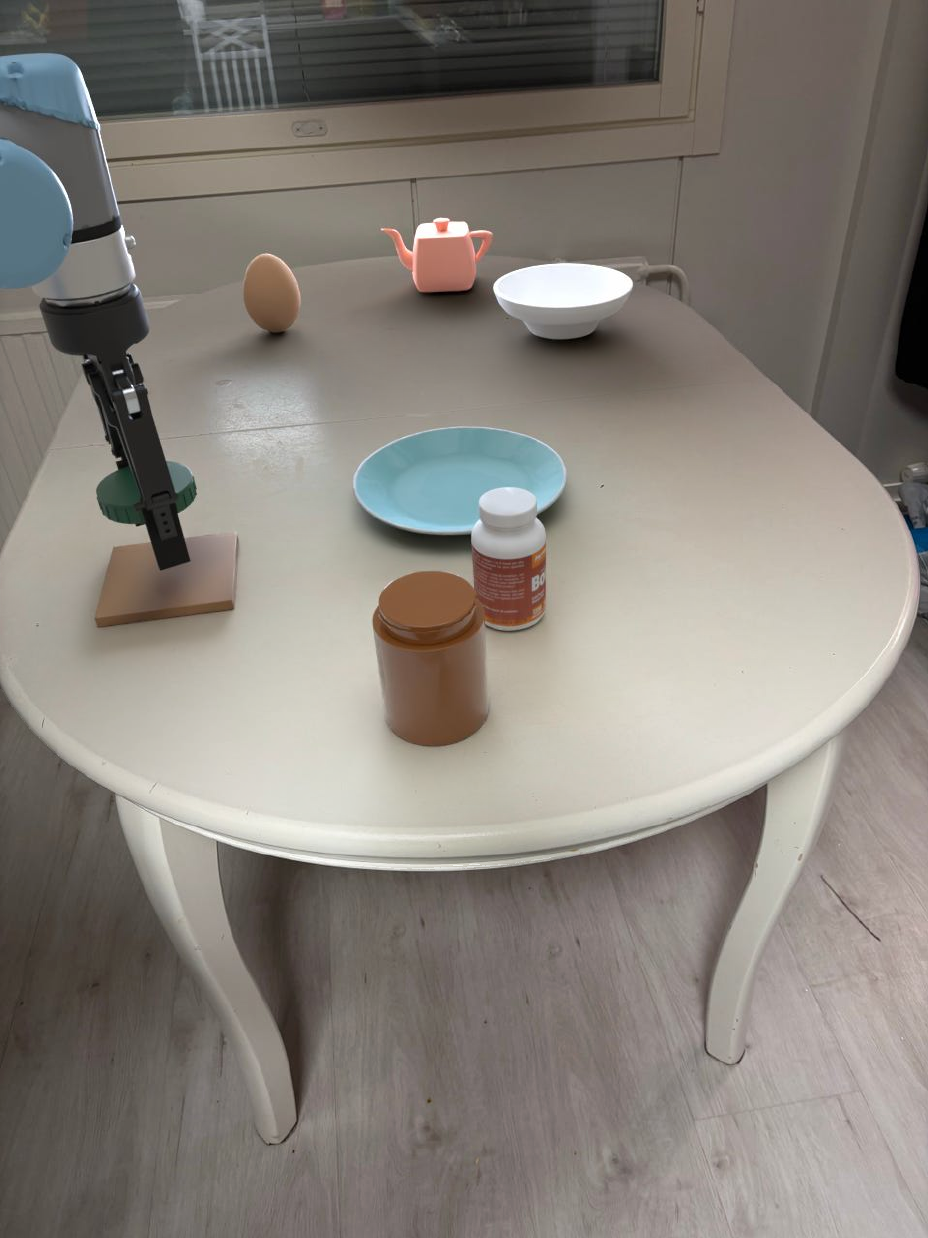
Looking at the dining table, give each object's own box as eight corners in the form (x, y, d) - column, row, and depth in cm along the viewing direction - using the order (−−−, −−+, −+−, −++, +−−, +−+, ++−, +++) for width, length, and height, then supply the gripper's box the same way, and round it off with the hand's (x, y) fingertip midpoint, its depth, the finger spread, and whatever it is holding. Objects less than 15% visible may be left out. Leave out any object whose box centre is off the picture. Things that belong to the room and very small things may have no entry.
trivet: (97, 627, 82) (93, 618, 81) (115, 555, 91) (113, 546, 91) (234, 609, 83) (232, 600, 82) (238, 539, 92) (236, 531, 92)
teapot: (495, 293, 149) (493, 225, 143) (384, 299, 150) (377, 231, 144) (493, 272, 158) (491, 207, 152) (389, 277, 159) (383, 213, 153)
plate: (539, 567, 86) (539, 541, 84) (320, 539, 92) (316, 515, 90) (585, 458, 103) (586, 435, 101) (398, 440, 108) (396, 418, 107)
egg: (261, 345, 136) (246, 266, 129) (242, 329, 142) (227, 253, 135) (313, 332, 139) (302, 255, 132) (293, 317, 145) (281, 242, 138)
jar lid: (206, 476, 85) (202, 458, 84) (183, 523, 78) (178, 504, 77) (118, 479, 85) (113, 461, 84) (87, 526, 79) (81, 507, 78)
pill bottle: (546, 633, 78) (546, 520, 71) (473, 633, 78) (466, 520, 72) (545, 591, 83) (546, 481, 76) (476, 591, 83) (471, 482, 77)
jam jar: (390, 753, 68) (374, 639, 61) (380, 683, 74) (365, 573, 67) (497, 737, 68) (493, 623, 62) (478, 669, 75) (473, 559, 68)
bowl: (553, 300, 145) (553, 255, 141) (657, 326, 134) (661, 278, 130) (467, 336, 134) (464, 289, 130) (572, 368, 123) (573, 317, 119)
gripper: (172, 317, 65) (237, 583, 78) (108, 250, 80) (171, 484, 93) (62, 341, 62) (149, 612, 76) (17, 267, 77) (96, 505, 91)
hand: (161, 541), depth 85 cm, fingers closed on jar lid, 8 cm apart
